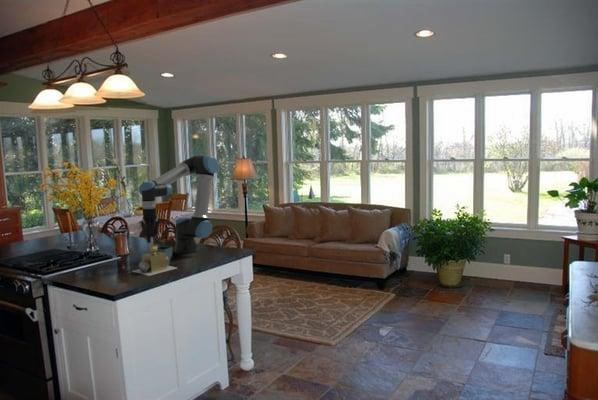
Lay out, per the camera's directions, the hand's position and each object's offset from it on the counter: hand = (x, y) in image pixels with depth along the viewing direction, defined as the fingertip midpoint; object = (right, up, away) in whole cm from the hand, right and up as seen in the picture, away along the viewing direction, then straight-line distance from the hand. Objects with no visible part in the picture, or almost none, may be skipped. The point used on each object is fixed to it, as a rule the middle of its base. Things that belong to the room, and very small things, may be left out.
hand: (151, 247), depth 281 cm
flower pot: (+4, -10, +12) cm, 16 cm away
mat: (+5, -12, -8) cm, 15 cm away
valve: (+5, -12, -8) cm, 15 cm away
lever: (+3, 0, -4) cm, 5 cm away
